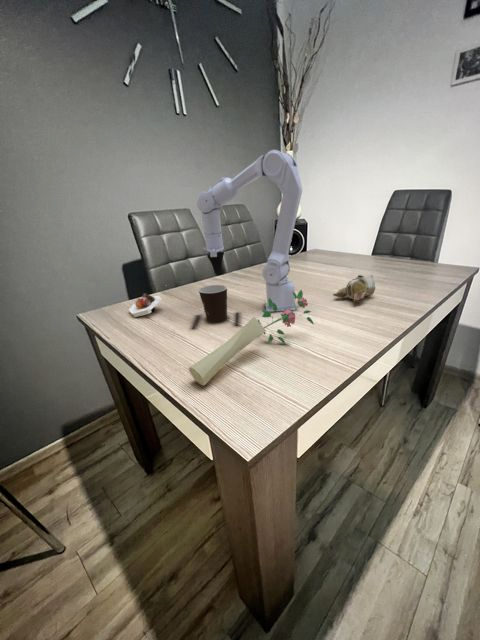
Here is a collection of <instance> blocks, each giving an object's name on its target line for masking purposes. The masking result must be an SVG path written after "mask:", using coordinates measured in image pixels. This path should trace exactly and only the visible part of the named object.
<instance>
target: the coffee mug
mask: <svg viewBox="0 0 480 640" xmlns="http://www.w3.org/2000/svg"><path fill="white" fill-rule="evenodd" d="M198 293H199V296H200V300H201V304H202V307H203V310H204V315H205V318H206V320H207V322H208V323H211V324H219V323H223V322H224V321H226V320H228V287H227V286H226V285H224V284H210V285H205V286H202V287H200V288H199V289H198Z"/></svg>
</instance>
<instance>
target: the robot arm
mask: <svg viewBox="0 0 480 640" xmlns="http://www.w3.org/2000/svg"><path fill="white" fill-rule="evenodd" d="M299 173H300V172H299V165H298V163H297V161H296V159H294V157H293V156H292V155H291V154H290V153H287V152H282V151H280V150H278V149H271V150H268V151H267V153H266V154H263V155H260V156H259V157H258V158H257V159H256V160H254V161H253V162H252V163H251V164H249V165H248V166H247V167H246V168H245V169H243V170H242V171H241V172H239V173H237V175H236V176H234V177H233V178H230V177H221V178H219V182H218V183H216V184H215V185H214V186H210V187H208V191H200V192H199V193H198V194H197V196H196V199H195V201H196V203H195V204H196V207H197V209H198V210H199V211H200V212H201V220H202V224H203V225H202V226H203V234H204V240H205V246H204V247H203V248H202V250H203V251H207V252H208V253H207V254H206V257H207V259H208V260H209V262H210V263H211V266H212V270H213V273H214V275H216V276H217V275H218V276H220V275H222V272H223V261H224V260H223V259H224V256H225V251H224V250H225V246H224V241H223V233H222V223H221V210H222V207H223V206H225V205H226V204H228V203H229V202H231V201H232V200H234V199H235V198H237V197H238V194H239V191H240V190H241V189H243V188H244V187H247V186H248V185H250V184H251V183H253V182H254V181H257V180H258V179H260V178H268V179H269V180H270V181H272V183H274V184H275V185H276V186H277V188H278V190H279V191H280V193H281V194H282V197H281V202H280V207H279V213H278V218H277V221H276V227H275V228H276V229H275V233H274V238H273V243H272V248H271V253H270V255H269V257H268V258H267V262H266V265H265V266H264V268H263V270H262V278H263V280H264V281H265V292H266V302H265V310H267V311H269V312H270V313H271V312H272V313H273V312H275V311H274V310H273V307H272V308H270V307H269V302H268V301H269V298H270V299H271V300H272V302H274V303H275V304H276V306H277V311H276V312H283V311H285V309H287V310H288V309H291V310H292V311H293V310H294V309H296V308H295V306H296V305H295V304H296V300H295V297H294V295H293V292H294V293H295V294H296V291H295V290H296V288H295V282H294V281H293V280H289V279H288V277H287V276H288V275H289V273H290V271H291V266H290V259H291V258H290V254H289V253H290V252H289V251H290V247H291V243H292V239H293V235H294V230H295V226H296V220H297V217H298V212H299V208H300V202H301V199H302V195H303V185H302V182H301V181H302V180H301V177H300V174H299ZM287 310H286V311H287ZM294 311H295V310H294Z"/></svg>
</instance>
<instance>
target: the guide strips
mask: <svg viewBox="0 0 480 640" xmlns="http://www.w3.org/2000/svg"><path fill="white" fill-rule="evenodd" d="M239 315H240V314H239V312H236V313H235V326H236V327H237V326H239ZM199 318H200V315H199V314H198V315H196V316H195V320H194V322H193V324H192V327H191V329H192V330H195V329H196V327H197V324H198V321H199Z"/></svg>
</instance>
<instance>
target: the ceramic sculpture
mask: <svg viewBox="0 0 480 640" xmlns="http://www.w3.org/2000/svg"><path fill="white" fill-rule="evenodd" d="M375 291H376V281H375V279H374V275H373V274H370V275H367V276H364V275H361V274H359V275H357V276H356V278H353V279H350V280H349V281H348V282H347V284H346V286H345V287H342V288H340V289H339V290H338V291H337V292H336V293H332V296H334V297H338V298H346V297H347V298H348V299H350V300H352V301H353V302H354V303H360V302H361V303H362V301H363V300H364V299H365V298H366V297H371V296H373V295H374V293H375Z"/></svg>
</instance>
